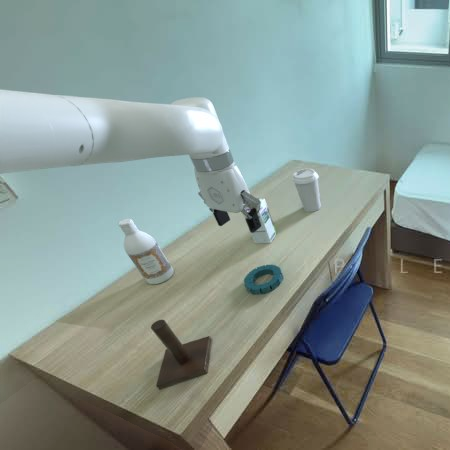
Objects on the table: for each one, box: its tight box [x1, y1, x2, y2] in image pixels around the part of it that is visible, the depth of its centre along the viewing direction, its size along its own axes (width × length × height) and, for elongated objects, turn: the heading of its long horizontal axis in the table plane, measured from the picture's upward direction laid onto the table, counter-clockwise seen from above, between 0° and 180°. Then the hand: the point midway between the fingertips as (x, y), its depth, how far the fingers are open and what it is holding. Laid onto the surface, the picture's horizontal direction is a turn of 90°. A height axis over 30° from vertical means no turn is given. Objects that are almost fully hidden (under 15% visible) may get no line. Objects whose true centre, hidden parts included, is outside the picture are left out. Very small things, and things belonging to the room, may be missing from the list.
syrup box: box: [242, 197, 278, 244], centre depth 102 cm, size 6×6×14 cm
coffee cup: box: [291, 168, 322, 213], centre depth 118 cm, size 10×10×15 cm
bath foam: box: [117, 218, 175, 285], centre depth 86 cm, size 7×7×20 cm
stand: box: [150, 319, 212, 390], centre depth 65 cm, size 9×9×14 cm
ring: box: [243, 264, 284, 295], centre depth 88 cm, size 10×10×2 cm
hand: (240, 226), depth 75 cm, fingers open, 9 cm apart
